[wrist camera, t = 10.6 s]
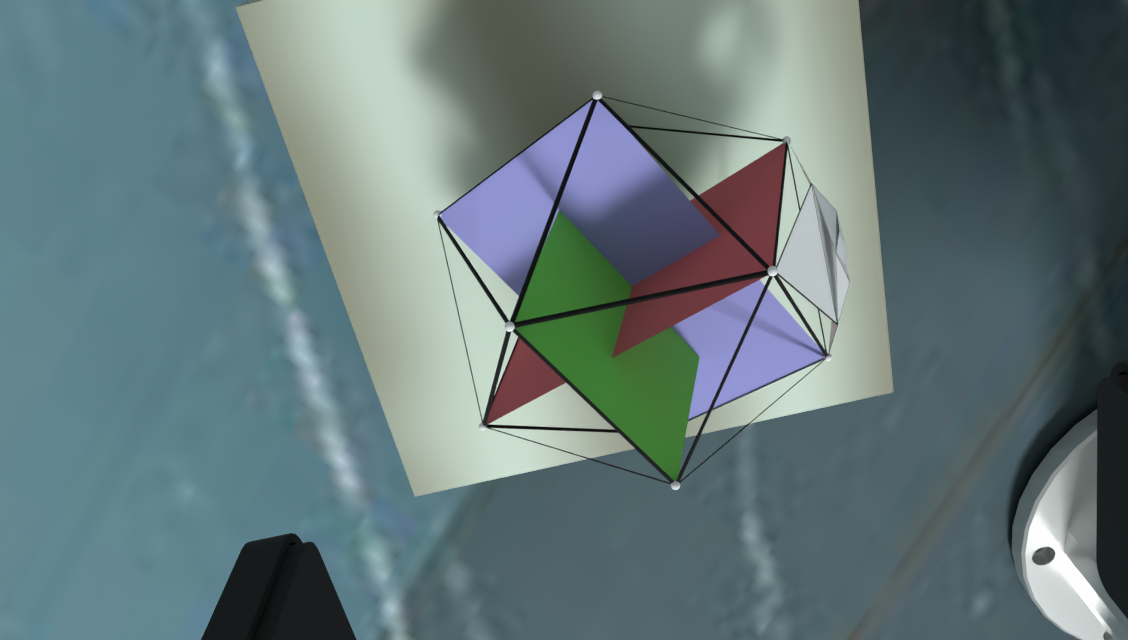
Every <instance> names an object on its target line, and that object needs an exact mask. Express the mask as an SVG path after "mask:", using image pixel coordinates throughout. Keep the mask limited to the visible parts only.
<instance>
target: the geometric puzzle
mask: <svg viewBox="0 0 1128 640" xmlns="http://www.w3.org/2000/svg"><path fill="white" fill-rule="evenodd" d="M602 97H604V96H602V93H601V92H600V91H595V92H594V93H593V98H591V99H590V100H589V101H587V102H586V103H585V104H583V105H582V106H581V107H579V108H578V109H577V110H575V111H574V112H573V113H571V114H570V115H569V116H567V117H566V118H565V119H563V120H562V121H561V122H559V123H558V124H557V125H555V126H554V127H553V128H552V129H550V130H549V131H548V132H546V133H545V134H544V135H542V136H541V137H540V138H538V139H537V140H536V141H534V142H533V143H532V144H530V145H529V146H528V147H526V148H525V149H524V150H522V151H521V152H520V153H518V154H517V155H516V156H514V157H513V158H512V159H510V160H509V161H508V162H506V163H505V164H504V165H502V166H501V167H500V168H498V169H497V170H496V171H494V172H493V173H492V174H490V175H489V176H488V177H486V178H485V179H484V180H482V181H481V182H480V183H478V184H477V185H476V186H475V187H473V188H472V189H471V190H469V191H468V192H467V193H465V194H464V195H463V196H461V197H460V198H459V199H457V200H456V201H455V202H453V203H452V204H451V205H449V206H448V207H447V208H445V209H444V210H443V211H439V210H436V211H435V212H434V217H435V218H437V221H438V226H439V230H440V235H441V239H442V244H443V248H444V253H445V257H446V252H445V247H444V243H443V238H442V234H441V229H440V225H439V223H440V224H441V226H442V227H443V229H444V230H445V232H446V234H447V235H448V237H449V238H450V240H451V241H452V243H453V244H454V246H455V247H456V249H457V250H458V252H459V253H460V255H461V256H462V258H463V259H464V261H465V262H466V264H467V266H468V267H469V269H470V270H471V272H472V273H473V275H474V276H475V278H476V279H477V281H478V282H479V284H480V285H481V287H482V288H483V290H484V291H485V293H486V295H487V296H488V298H489V299H490V301H491V302H492V304H493V305H494V307H495V308H496V310H497V311H498V313H499V314H500V316H501V317H502V319H503V320H504V322H505V323H506V324H505V330H506V334H505V338H504V342H503V345H502V349H501V353H500V357H499V361H498V365H497V368H496V372H495V376H494V380H493V384H492V388H491V391H490V395H489V399H488V403H487V407H486V410H485V414H484V418H483V420H482V415H481V411H480V406H479V402H478V397H477V392H476V388H475V383H474V379H473V374H472V370H471V365H470V361H469V356H468V352H467V347H466V343H465V338H464V334H463V329H462V325H461V320H460V315H459V311H458V306H457V302H456V297H455V293H454V288H453V284H452V279H451V275H450V270H449V266H448V261H447V257H446V262H447V266H448V271H449V275H450V280H451V285H452V289H453V294H454V298H455V303H456V307H457V312H458V316H459V321H460V325H461V330H462V334H463V339H464V343H465V348H466V352H467V357H468V361H469V366H470V371H471V375H472V380H473V384H474V389H475V393H476V398H477V402H478V407H479V411H480V416H481V420H482V423H480V424H479V429H480V430H482V431H483V430H485V429H486V428H488V429H491V430H495V429H492V428H505V429H531V430H556V431H582V432H608V433H619V434H620V435H621V436H622V437H623V438H624V439H626V440H627V441H628V442H629V443H630V444H631V445H632V446H633V447H634V448H635V449H636V450H637V451H638V452H639V453H640V454H641V455H642V456H643V457H644V458H645V459H646V460H647V461H649V462H650V463H651V464H652V465H653V466H654V467H655V468H656V469H657V470H658V471H659V472H660V473H661V474H662V475H663V476H664V477H665V478H666V479H667V480H668V481H669V482H671V483H669V482H666V481H663V480H659V479H656V478H653V477H649V476H646V475H643V474H640V473H636V472H633V471H630V470H626V469H623V468H620V467H617V466H613V465H610V464H607V463H603V462H600V461H597V460H594V459H590V458H587V457H584V456H581V455H577V454H574V453H571V452H567V451H564V450H561V449H558V448H554V447H551V446H548V445H544V444H541V443H538V442H535V441H531V440H528V439H525V438H522V437H518V436H515V435H512V434H508V433H505V432H502V431H499V430H495V431H498V432H501V433H504V434H508V435H511V436H514V437H518V438H521V439H524V440H527V441H531V442H534V443H537V444H540V445H544V446H547V447H550V448H554V449H557V450H560V451H563V452H567V453H570V454H573V455H576V456H580V457H583V458H586V459H589V460H593V461H596V462H599V463H603V464H606V465H609V466H612V467H616V468H619V469H622V470H625V471H629V472H632V473H635V474H639V475H642V476H645V477H648V478H652V479H655V480H658V481H661V482H665V483H668V484H671V488H672V489H674V490H678V489H679V488H680V482H682V481H683V480H684V479H685V478H686V477H687V476H689V475H690V474H691V473H692V472H693V471H695V470H696V469H697V468H698V467H699V466H700V465H702V464H703V463H704V462H705V461H706V460H708V459H709V458H710V457H711V456H712V455H713V454H715V453H716V452H717V451H718V450H719V449H721V448H722V447H723V446H724V445H725V444H726V443H728V442H729V441H730V440H731V439H732V438H734V437H735V436H736V435H737V434H738V433H739V432H741V431H742V430H743V429H744V428H745V427H746V426H748V425H749V424H750V423H751V422H752V421H754V420H755V419H756V418H757V417H758V416H759V415H761V414H762V413H763V412H764V411H765V410H767V409H768V408H769V407H770V406H771V405H772V404H774V403H775V402H776V401H777V400H778V399H780V398H781V397H782V396H783V395H784V394H785V393H787V392H788V391H789V390H790V389H791V388H793V387H794V386H795V385H796V384H797V383H798V382H800V381H801V380H802V379H803V378H804V377H806V376H807V375H808V374H809V373H810V372H811V371H813V370H814V369H815V368H816V367H817V366H819V365H820V364H821V363H822V362H823V361H824V360H825V361H830V360H831V359H832V355H831V354H830V349H831V346H832V343H833V340H834V336H835V333H836V330H837V327H838V323H839V319H840V316H841V312H842V309H843V305H844V301H845V298H846V294H847V291H848V287H849V283H850V279H849V268H848V258H847V247H846V243H845V239H844V236H843V232H842V228H841V225H840V221H839V217H838V214H837V211H836V209H835V208H834V207H833V206H832V205H831V204H830V203H829V202H828V201H827V200H826V198H825V197H824V196H823V195H822V194H821V193H820V192H819V191H818V190H817V188H816V187H815V186H814V185H813V184H812V183H811V181H810V180H809V178H808V176H807V174H806V172H805V171H804V169H803V167H802V165H801V164H800V162H799V160H798V158H797V156H796V155H795V156H796V158H797V160H798V162H799V164H800V166H801V168H802V170H803V172H804V174H805V176H806V178H807V180H808V182H809V184H810V187H809V189H808V191H807V194H806V196H805V198H804V201H803V203H802V206H801V208H800V205H799V199H798V194H797V189H796V183H795V178H794V172H793V167H792V162H791V156H790V151H789V146H788V144H790V142H791V139H790V137H788V136H786V137H784V138H783V139H780V138H776V137H772V136H767V135H763V134H759V133H755V132H751V131H747V130H742V129H738V128H734V127H730V126H726V125H721V124H717V123H713V122H709V121H705V120H701V119H696V118H692V117H688V116H684V115H680V114H675V113H671V112H667V111H663V110H659V109H655V108H650V107H646V106H642V105H638V104H634V103H629V102H625V101H621V100H617V99H613V98H609V97H604V98H608V99H612V100H616V101H621V102H625V103H629V104H633V105H637V106H642V107H646V108H650V109H654V110H658V111H663V112H667V113H671V114H675V115H679V116H684V117H688V118H692V119H696V120H700V121H704V122H709V123H713V124H717V125H721V126H725V127H730V128H734V129H738V130H742V131H746V132H751V133H755V134H759V135H763V136H767V137H772V138H776V139H772V138H761V137H751V136H740V135H729V134H718V133H707V132H697V131H686V130H675V129H664V128H653V127H643V126H632V125H628V124H627V123H626V122H625V121H624V120H623V119H622V118H621V117H620V116H619V115H618V114H617V113H616V112H615V111H614V110H613V109H612V108H611V107H610V106H609V105H608V104H607V103H606V102H605V101H604V100H603V99H602ZM632 128H640V129H651V130H661V131H672V132H682V133H693V134H704V135H714V136H725V137H736V138H746V139H757V140H767V141H778V142H783V143H782V144H781V145H779V146H777V147H776V148H774V149H773V150H771V151H769V152H768V153H766V154H765V155H763V156H761V157H760V158H758V159H757V160H755V161H753V162H752V163H750V164H748V165H747V166H745V167H744V168H742V169H740V170H739V171H737V172H736V173H734V174H732V175H731V176H729V177H727V178H726V179H724V180H723V181H721V182H719V183H718V184H716V185H715V186H713V187H711V188H710V189H708V190H707V191H705V192H703V193H702V194H700V195H698V194H697V193H696V192H695V191H694V190H693V189H692V188H691V187H690V186H689V185H688V184H687V183H686V182H685V181H684V180H683V179H682V178H681V177H680V176H679V175H678V174H677V173H676V172H675V171H674V170H673V169H672V168H671V167H670V166H669V165H668V164H667V163H666V162H665V161H664V160H663V159H662V158H661V157H660V156H659V155H658V154H657V153H656V152H655V151H654V150H653V149H652V148H651V147H650V146H649V145H648V144H647V143H646V142H645V141H644V140H643V139H642V138H641V137H640V136H639V135H638V134H637V133H636V132H635V131H634V130H633V129H632ZM633 136H634V137H635V138H636V139H637V140H638V141H639V142H640V143H641V144H642V145H643V146H644V147H645V148H646V149H647V150H648V151H649V152H650V153H651V154H652V155H653V156H654V157H655V158H656V159H657V160H658V161H659V162H660V163H661V164H662V165H663V166H664V167H665V168H666V169H667V170H668V171H669V172H670V173H671V174H672V175H673V176H674V177H675V178H676V179H677V180H678V181H679V182H680V183H681V184H682V185H683V186H684V187H685V188H686V189H687V190H688V191H689V192H690V193H691V194H692V195H693V196H694V197H695V198H694V199H692V200H689V199H688V198H687V197H686V196H685V194H684V193H683V192H682V191H681V190H680V189H679V188H678V187H677V185H676V184H675V183H674V182H673V181H672V180H671V179H670V177H669V176H668V175H667V174H666V173H665V172H664V171H663V170H662V168H661V167H660V166H659V165H658V164H657V163H656V162H655V160H654V159H653V158H652V157H651V156H650V155H649V154H648V152H647V151H646V150H645V149H644V148H643V147H642V146H641V145H640V143H639V142H638V141H637V140H636V139H635V138H634V137H633ZM791 148H792V147H791ZM792 150H793V149H792ZM787 151H788V153H789V159H790V164H791V170H792V175H793V180H794V186H795V191H796V196H797V202H798V207H799V213H798V215H797V218H796V220H795V222H794V225H793V227H792V230H791V232H790V234H789V237H788V239H787V242H786V244H785V246H784V249H783V251H782V254H781V256H780V258H779V261H778V263H777V266H776V258H777V249H778V239H779V229H780V219H781V209H782V200H783V190H784V180H785V170H786V160H787ZM793 152H794V151H793ZM794 154H795V153H794ZM447 227H449V228H450V229H451V230H452V231H453V232H454V233H455V234H456V235H457V236H458V237H459V238H460V239H461V240H462V241H463V242H464V243H465V244H466V245H467V246H468V247H469V248H470V249H471V250H472V251H473V252H474V253H475V254H476V255H477V256H478V257H479V258H480V259H481V260H482V261H483V262H484V263H485V264H487V265H488V266H489V267H490V268H491V269H492V270H493V271H494V272H495V273H496V274H497V275H498V276H499V277H500V278H501V279H502V280H503V281H504V282H505V283H506V284H507V285H508V286H509V287H510V288H511V289H512V290H513V291H514V292H515V293H516V294H517V295H518V296H519V298H518V300H517V303H516V306H515V308H514V311H513V314H512V316H511V319H510V321H509V319H508V318H507V316H506V315H505V313H504V312H503V310H502V309H501V307H500V306H499V304H498V303H497V301H496V300H495V298H494V297H493V295H492V294H491V292H490V291H489V289H488V288H487V286H486V285H485V283H484V282H483V280H482V279H481V277H480V276H479V274H478V273H477V271H476V270H475V268H474V267H473V265H472V264H471V262H470V261H469V259H468V258H467V256H466V255H465V253H464V252H463V250H462V249H461V247H460V246H459V244H458V243H457V241H456V240H455V238H454V237H453V235H452V234H451V232H450V231H449V229H448V228H447ZM765 276H769V278H768V280H767V282H766V284H765V285H764V284H763V283H762V282H761V281H760V279H762V278H764V277H765ZM773 276H774V278H775V280H776V281H777V283H778V284H779V286H780V287H781V289H782V290H783V292H784V294H785V295H786V297H787V298H788V300H789V301H790V303H791V304H792V306H793V308H794V309H795V311H796V312H797V314H798V315H799V317H800V318H801V320H802V322H803V323H804V325H805V326H806V328H807V329H808V331H809V332H810V334H811V336H812V337H813V339H814V340H815V342H816V343H817V344H816V343H815V342H814V341H813V340H812V339H811V337H810V336H809V335H808V334H807V333H806V332H805V331H804V330H803V328H802V327H801V326H800V325H799V324H798V323H797V322H796V320H795V319H794V318H793V317H792V316H791V315H790V314H789V313H788V311H787V310H786V309H785V308H784V307H783V306H782V305H781V303H780V302H779V301H778V300H777V299H776V298H775V297H774V295H773V294H772V293H771V292H770V291H769V290H768V287H769V284H770V282H771V280H772V278H773ZM779 277H780V278H781V279H783V280H784V281H785V282H786V283H787V284H789V285H790V286H791V287H792V288H793V289H795V290H796V291H797V292H798V293H799V294H801V295H802V296H803V297H804V298H805V299H806V300H808V301H809V302H810V303H811V304H812V305H814V306H815V307H816V308H817V309H818V314H819V319H820V325H821V330H822V335H823V341H824V346H825V349H824V348H823V346H822V344H821V343H820V341H819V340H818V338H817V337H816V335H815V333H814V332H813V330H812V329H811V327H810V325H809V324H808V322H807V321H806V319H805V318H804V316H803V314H802V313H801V311H800V310H799V308H798V306H797V305H796V303H795V302H794V300H793V299H792V297H791V295H790V294H789V292H788V291H787V289H786V287H785V286H784V284H783V283H782V281H781V280H780V278H779ZM819 310H820V311H821V312H822V313H823V314H824V315H826V316H827V317H828V318H829V319H830V320H831V321H832V322H831V333H830V343H829V353H827V349H826V344H825V338H824V333H823V328H822V322H821V317H820V312H819ZM511 331H512V332H514V333H515V334H516V335H517V336H518V338H517V341H516V343H515V346H514V348H513V351H512V353H511V356H510V358H509V360H508V363H507V365H506V368H505V370H504V373H503V375H502V378H501V380H500V383H499V385H498V387H497V390H496V386H497V383H498V379H499V375H500V372H501V368H502V364H503V361H504V357H505V353H506V350H507V346H508V342H509V339H510V335H511ZM818 346H819V347H818ZM820 361H822V362H821V363H819V364H818V365H817V366H816V367H815V368H813V369H812V370H811V371H810V372H809V373H808V374H806V375H805V376H804V377H803V378H802V379H800V380H799V381H798V382H797V383H796V384H795V385H793V386H792V387H791V388H790V389H789V390H787V391H786V392H785V393H784V394H783V395H782V396H780V397H779V398H778V399H777V400H776V401H774V402H773V403H772V404H771V405H770V406H769V407H767V408H766V409H765V410H764V411H763V412H761V413H760V414H759V415H758V416H757V417H756V418H754V419H753V420H752V421H751V422H750V423H748V424H747V425H746V426H745V427H744V428H743V429H741V430H740V431H739V432H738V433H737V434H735V435H734V436H733V437H732V438H731V439H730V440H728V441H727V442H726V443H725V444H724V445H722V446H721V447H720V448H719V449H718V450H717V451H715V452H714V453H713V454H712V455H711V456H709V457H708V458H707V459H706V460H705V461H704V462H702V463H701V464H700V465H699V466H698V467H696V468H695V469H694V470H693V471H692V472H691V473H689V474H688V475H687V476H686V477H685V478H683V479H682V480H681V481H680V479H681V477H682V475H683V473H684V471H685V468H686V466H687V464H688V462H689V460H690V457H691V455H692V453H693V451H694V449H695V446H696V444H697V442H698V440H699V438H700V436H701V433H702V431H703V429H704V427H705V425H706V422H707V420H708V418H709V416H710V414H711V411H712V410H715V409H717V408H719V407H721V406H723V405H726V404H728V403H730V402H732V401H734V400H737V399H739V398H741V397H743V396H745V395H748V394H750V393H752V392H754V391H756V390H759V389H761V388H763V387H765V386H767V385H770V384H772V383H774V382H776V381H778V380H781V379H783V378H785V377H787V376H789V375H792V374H794V373H796V372H798V371H800V370H803V369H805V368H807V367H809V366H812V365H814V364H816V363H818V362H820ZM565 383H567V384H568V385H569V386H570V387H571V388H572V389H573V390H574V391H575V392H576V393H577V394H578V395H579V396H580V397H582V398H583V399H584V400H585V401H586V402H587V403H588V404H589V405H590V406H591V407H592V408H593V409H594V410H595V411H596V412H597V413H598V414H599V415H600V416H601V417H602V418H604V419H605V420H606V421H607V422H608V423H609V424H610V425H611V426H612V427H613V428H614V429H615V430H613V429H589V428H564V427H540V426H515V425H491V424H489V423H491V422H493V421H495V420H497V419H499V418H501V417H503V416H504V415H506V414H508V413H510V412H512V411H514V410H516V409H518V408H519V407H521V406H523V405H525V404H527V403H529V402H531V401H533V400H534V399H536V398H538V397H540V396H542V395H544V394H546V393H548V392H549V391H551V390H553V389H555V388H557V387H559V386H561V385H563V384H565ZM495 390H496V392H495ZM494 394H495V395H494ZM706 413H707V414H706ZM704 414H706V416H705V418H704V421H703V423H702V425H701V427H700V429H699V432H698V434H697V436H696V438H695V440H694V443H693V445H692V447H691V449H690V451H689V454H688V456H687V458H686V460H685V462H684V465H683V467H682V469H681V471H680V473H679V468H680V462H681V457H682V451H683V446H684V440H685V435H686V429H687V424H688V421H690V420H693V419H695V418H697V417H699V416H701V415H704ZM678 473H679V476H678Z"/></svg>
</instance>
